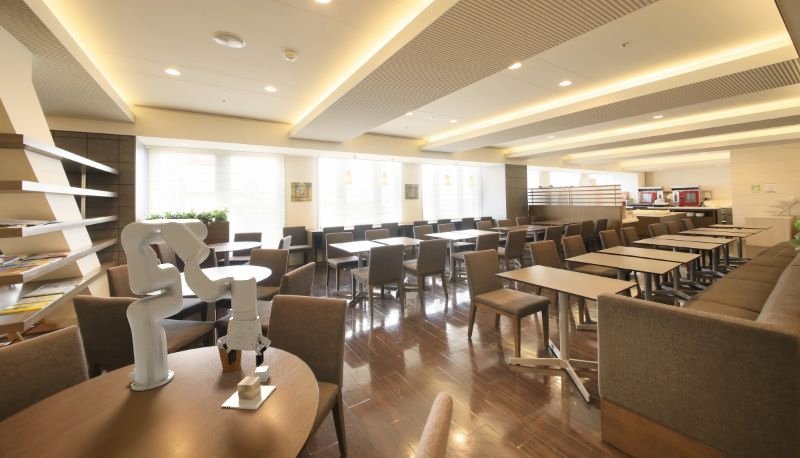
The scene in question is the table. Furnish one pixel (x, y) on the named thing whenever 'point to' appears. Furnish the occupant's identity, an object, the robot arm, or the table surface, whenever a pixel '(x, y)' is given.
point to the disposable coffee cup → (224, 358)
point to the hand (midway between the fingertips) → (246, 363)
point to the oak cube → (249, 388)
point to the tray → (249, 404)
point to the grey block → (262, 373)
